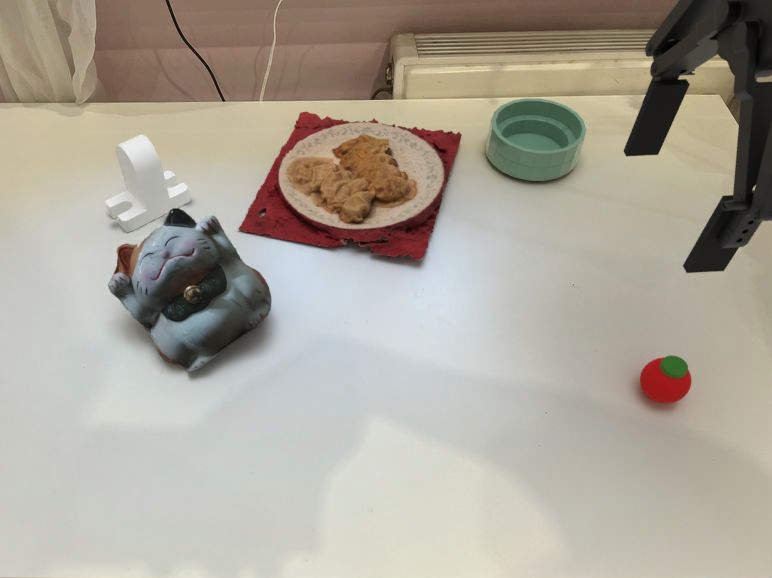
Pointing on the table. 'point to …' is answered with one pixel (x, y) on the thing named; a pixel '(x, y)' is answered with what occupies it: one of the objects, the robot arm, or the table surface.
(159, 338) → the lucky cat figurine
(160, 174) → the cable organizer
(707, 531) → the table surface
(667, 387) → the tomato
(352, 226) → the plate with food
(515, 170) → the bowl
